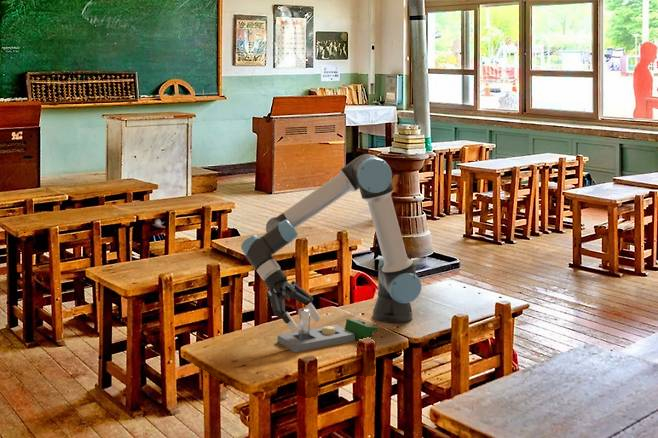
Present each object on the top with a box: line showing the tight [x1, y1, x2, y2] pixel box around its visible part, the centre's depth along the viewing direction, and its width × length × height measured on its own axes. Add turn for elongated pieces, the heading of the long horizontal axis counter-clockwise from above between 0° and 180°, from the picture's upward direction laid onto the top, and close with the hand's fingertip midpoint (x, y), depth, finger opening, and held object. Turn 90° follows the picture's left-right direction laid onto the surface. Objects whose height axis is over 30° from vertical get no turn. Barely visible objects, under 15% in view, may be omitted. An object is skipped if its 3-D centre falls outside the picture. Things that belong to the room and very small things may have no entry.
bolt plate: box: [277, 324, 356, 353], centre depth 284 cm, size 24×12×4 cm, turn 122°
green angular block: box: [344, 318, 379, 341], centre depth 289 cm, size 12×6×9 cm
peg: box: [297, 307, 311, 341], centre depth 280 cm, size 4×4×12 cm
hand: (307, 324), depth 279 cm, fingers open, 13 cm apart
